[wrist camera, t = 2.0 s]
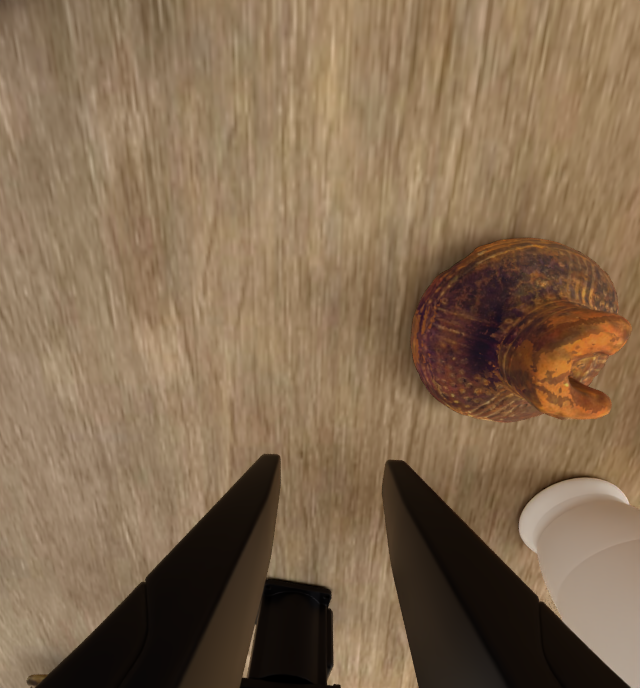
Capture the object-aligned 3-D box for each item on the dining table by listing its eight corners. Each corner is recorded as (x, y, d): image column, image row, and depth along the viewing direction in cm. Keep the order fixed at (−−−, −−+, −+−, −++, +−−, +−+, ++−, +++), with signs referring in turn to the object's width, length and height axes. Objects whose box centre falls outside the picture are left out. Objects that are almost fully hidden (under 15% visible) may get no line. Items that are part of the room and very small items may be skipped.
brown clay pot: (449, 212, 17) (532, 196, 10) (634, 270, 18) (823, 291, 11) (381, 386, 21) (408, 459, 14) (535, 426, 22) (631, 513, 15)
